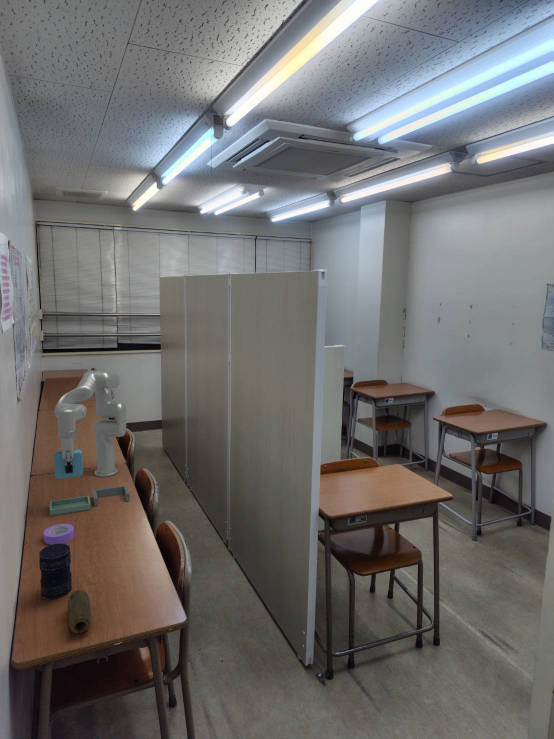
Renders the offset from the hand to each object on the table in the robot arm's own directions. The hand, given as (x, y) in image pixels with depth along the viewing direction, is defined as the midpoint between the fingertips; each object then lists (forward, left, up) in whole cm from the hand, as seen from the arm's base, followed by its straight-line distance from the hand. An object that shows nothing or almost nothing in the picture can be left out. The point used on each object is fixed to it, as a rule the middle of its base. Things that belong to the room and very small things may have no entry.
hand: (69, 470), depth 223 cm
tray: (0, 0, -19) cm, 19 cm away
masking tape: (+28, -5, -20) cm, 35 cm away
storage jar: (+67, -6, -19) cm, 70 cm away
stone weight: (+86, 0, -19) cm, 89 cm away
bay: (-4, +19, -19) cm, 27 cm away
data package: (0, 0, -3) cm, 3 cm away
